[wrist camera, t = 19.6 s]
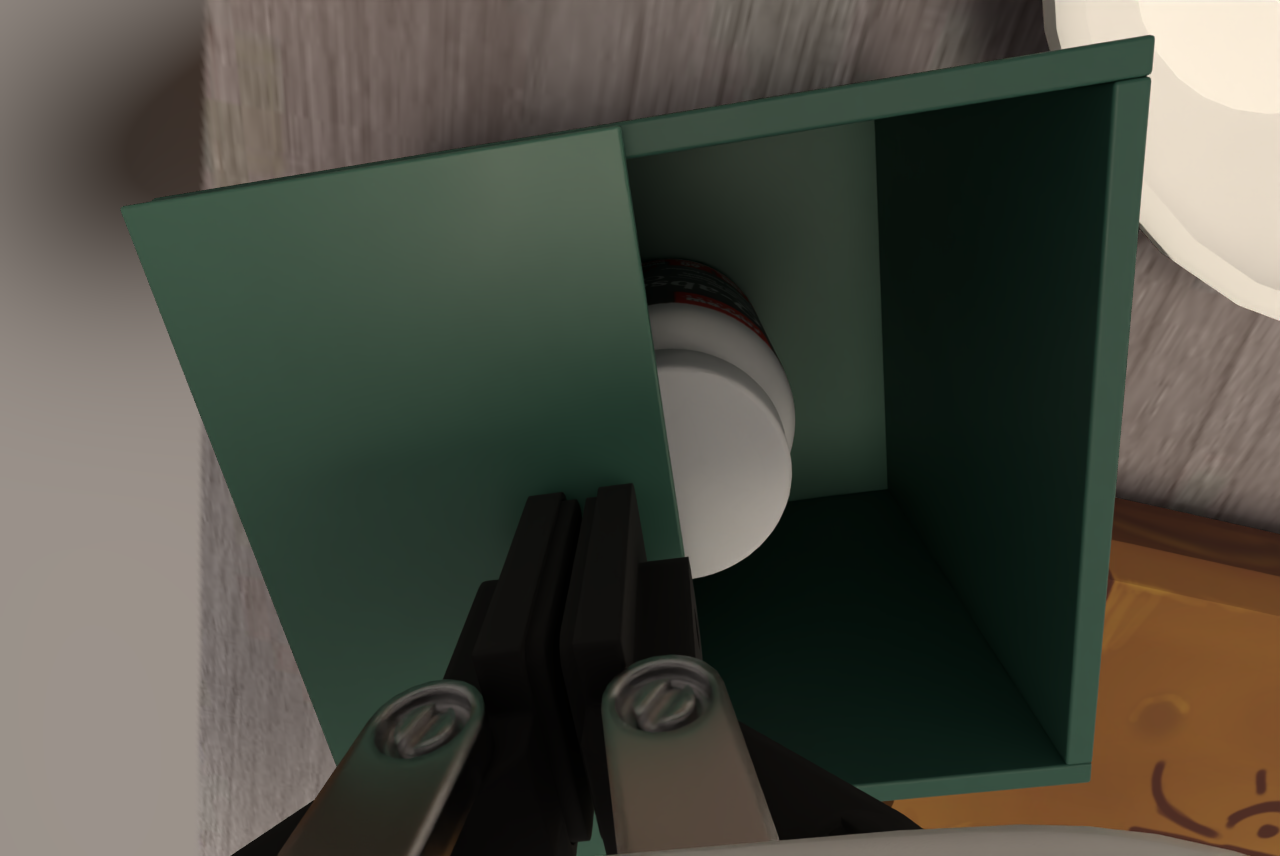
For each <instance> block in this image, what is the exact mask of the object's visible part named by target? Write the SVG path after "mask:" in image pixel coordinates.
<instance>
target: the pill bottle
mask: <svg viewBox="0 0 1280 856" xmlns="http://www.w3.org/2000/svg"><path fill="white" fill-rule="evenodd" d="M642 271H643V277H644V284H645V291H646V297H647V304H648V311H649V318H650V324H651V331H652V338H653V344H654V351H655V358H656V365H657V371H658V378H659V385H660V391H661V398H662V405H663V411H664V418H665V425H666V432H667V438H668V445H669V452H670V458H671V465H672V472H673V479H674V485H675V492H676V499H677V505H678V512H679V519H680V525H681V532H682V539H683V546H684V552H685V557H689V561H690V567H691V573H692V579H694V578H699V577H704V576H707V575H711V574H714V573H717V572H719V571H722V570H725V569H727V568H729V567H731V566H733V565H735V564H737V563H738V562H740V561H741V560H743V559H744V558H746V557H747V556H749V555H750V554H751V553H752V552H753V551H755V550H756V549H757V548H758V547H759V546H760V545H761V544H762V543H763V542H764V541H765V540H766V539H767V538H768V536H769V535H770V534H771V533H772V531H773V530H774V528H775V527H776V525H777V524H778V522H779V520H780V518H781V516H782V514H783V511H784V509H785V507H786V504H787V501H788V497H789V494H790V488H791V480H792V462H791V456H790V452H791V448H792V444H793V439H794V433H795V408H794V401H793V396H792V392H791V388H790V385H789V382H788V379H787V376H786V373H785V371H784V368H783V366H782V364H781V362H780V360H779V358H778V356H777V354H776V352H775V350H774V348H773V346H772V344H771V342H770V340H769V338H768V336H767V334H766V332H765V330H764V328H763V326H762V324H761V322H760V320H759V318H758V316H757V314H756V312H755V310H754V308H753V306H752V304H751V303H750V301H749V300H748V298H747V297H746V296H745V295H744V293H743V292H742V291H741V290H740V289H739V288H738V287H737V286H736V285H735V284H734V283H733V282H732V281H731V280H730V279H728V278H727V277H726V276H725V275H723V274H721V273H720V272H718V271H716V270H715V269H713V268H710V267H708V266H706V265H703V264H700V263H697V262H693V261H689V260H682V259H659V260H653V261H648V262H645V263H642Z"/></svg>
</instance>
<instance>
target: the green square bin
mask: <svg viewBox="0 0 1280 856" xmlns="http://www.w3.org/2000/svg"><path fill="white" fill-rule="evenodd" d="M1154 45H1155V37H1154V36H1153V35H1145V36H1139V37H1133V38H1127V39H1120V40H1114V41H1108V42H1102V43H1096V44H1090V45H1084V46H1078V47H1072V48H1066V49H1060V50H1054V51H1047V52H1041V53H1035V54H1029V55H1023V56H1017V57H1011V58H1005V59H999V60H993V61H987V62H981V63H974V64H968V65H962V66H956V67H950V68H944V69H938V70H932V71H926V72H920V73H914V74H908V75H902V76H895V77H889V78H883V79H877V80H871V81H865V82H859V83H853V84H847V85H841V86H835V87H829V88H822V89H816V90H810V91H804V92H798V93H792V94H786V95H780V96H774V97H768V98H762V99H756V100H749V101H743V102H737V103H731V104H725V105H719V106H713V107H707V108H701V109H695V110H689V111H683V112H677V113H670V114H664V115H658V116H652V117H646V118H640V119H634V120H628V121H622V122H616V123H610V124H604V125H597V126H591V127H585V128H579V129H573V130H567V131H561V132H555V133H549V134H543V135H537V136H531V137H525V138H518V139H512V140H506V141H500V142H494V143H488V144H482V145H476V146H470V147H464V148H458V149H452V150H445V151H439V152H433V153H427V154H421V155H415V156H409V157H403V158H397V159H391V160H385V161H379V162H372V163H366V164H360V165H354V166H348V167H342V168H336V169H330V170H324V171H318V172H312V173H306V174H300V175H293V176H287V177H281V178H275V179H269V180H263V181H257V182H251V183H245V184H239V185H233V186H227V187H220V188H214V189H208V190H202V191H196V192H190V193H184V194H179V195H172V196H166V197H160V198H155V199H154V200H152V201H158V200H164V199H170V198H176V197H182V196H189V195H195V194H201V193H207V192H213V191H219V190H225V189H231V188H237V187H243V186H250V185H256V184H262V183H268V182H274V181H280V180H286V179H292V178H298V177H305V176H311V175H317V174H323V173H329V172H335V171H341V170H347V169H353V168H359V167H366V166H372V165H378V164H384V163H390V162H396V161H402V160H408V159H414V158H420V157H427V156H433V155H439V154H445V153H451V152H457V151H463V150H469V149H475V148H481V147H488V146H494V145H500V144H506V143H512V142H518V141H524V140H530V139H536V138H543V137H549V136H555V135H561V134H567V133H573V132H579V131H585V130H591V129H597V128H604V127H610V126H616V125H617V126H620V128H621V130H622V137H623V143H624V150H625V157H626V163H627V170H628V177H629V183H630V190H631V197H632V204H633V210H634V217H635V224H636V230H637V237H638V244H639V251H640V257H641V264H642V263H645V262H648V261H653V260H659V259H682V260H689V261H693V262H697V263H700V264H703V265H706V266H708V267H710V268H713V269H715V270H716V271H718V272H720V273H721V274H723V275H725V276H726V277H727V278H728V279H730V280H731V281H732V282H733V283H734V284H735V285H736V286H737V287H738V288H739V289H740V290H741V291H742V292H743V293H744V295H745V296H746V297H747V298H748V300H749V301H750V303H751V304H752V306H753V308H754V310H755V312H756V314H757V316H758V318H759V320H760V322H761V324H762V326H763V328H764V330H765V332H766V334H767V336H768V338H769V340H770V342H771V344H772V346H773V348H774V350H775V352H776V354H777V356H778V358H779V360H780V362H781V364H782V366H783V368H784V371H785V373H786V376H787V379H788V382H789V385H790V388H791V392H792V396H793V401H794V408H795V433H794V439H793V444H792V448H791V452H790V456H791V462H792V480H791V488H790V494H789V497H788V501H787V504H786V507H785V509H784V511H783V514H782V516H781V518H780V520H779V522H778V524H777V525H776V527H775V528H774V530H773V531H772V533H771V534H770V535H769V536H768V538H767V539H766V540H765V541H764V542H763V543H762V544H761V545H760V546H759V547H758V548H757V549H756V550H755V551H753V552H752V553H751V554H750V555H749V556H747V557H746V558H744V559H743V560H741V561H740V562H738V563H737V564H735V565H733V566H731V567H729V568H727V569H725V570H722V571H719V572H717V573H714V574H711V575H707V576H704V577H699V578H694V579H692V580H693V587H694V593H695V600H696V607H697V615H698V622H699V631H700V639H701V648H702V659H703V661H704V662H706V663H707V664H709V665H710V666H711V667H713V668H714V669H715V670H717V672H718V673H719V675H720V676H721V678H722V680H723V681H724V683H725V686H726V689H727V692H728V695H729V697H730V700H731V703H732V706H733V709H734V712H735V714H736V717H737V720H738V721H740V722H742V723H744V724H745V725H747V726H749V727H751V728H753V729H754V730H756V731H758V732H760V733H761V734H763V735H765V736H767V737H768V738H770V739H772V740H774V741H775V742H777V743H779V744H781V745H782V746H784V747H786V748H788V749H789V750H791V751H793V752H795V753H797V754H798V755H800V756H802V757H804V758H805V759H807V760H809V761H811V762H812V763H814V764H816V765H818V766H819V767H821V768H823V769H825V770H826V771H828V772H830V773H832V774H834V775H835V776H837V777H839V778H841V779H842V780H844V781H846V782H848V783H849V784H851V785H853V786H855V787H856V788H858V789H860V790H862V791H863V792H865V793H867V794H869V795H870V796H872V797H874V798H876V799H878V800H879V801H892V800H903V799H914V798H925V797H935V796H946V795H957V794H968V793H979V792H989V791H1000V790H1011V789H1022V788H1033V787H1044V786H1054V785H1065V784H1076V783H1087V782H1090V779H1091V768H1092V764H1091V762H1092V757H1093V745H1094V734H1095V722H1096V711H1097V699H1098V688H1099V676H1100V665H1101V653H1102V642H1103V630H1104V619H1105V607H1106V596H1107V584H1108V573H1109V562H1110V550H1111V539H1112V527H1113V516H1114V504H1115V493H1116V481H1117V470H1118V458H1119V447H1120V435H1121V424H1122V412H1123V401H1124V389H1125V378H1126V367H1127V355H1128V344H1129V332H1130V321H1131V309H1132V298H1133V286H1134V275H1135V263H1136V252H1137V240H1138V229H1139V217H1140V206H1141V194H1142V183H1143V172H1144V160H1145V149H1146V137H1147V126H1148V114H1149V103H1150V91H1151V78H1150V77H1147V76H1148V75H1149V74H1151V72H1152V68H1153V57H1154Z"/></svg>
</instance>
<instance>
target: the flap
mask: <svg viewBox="0 0 1280 856" xmlns="http://www.w3.org/2000/svg"><path fill="white" fill-rule="evenodd" d="M121 213H122V215H123V218H124V220H125V223H126V226H127V228H128V230H129V233H130V236H131V238H132V241H133V244H134V246H135V249H136V251H137V254H138V256H139V259H140V261H141V264H142V267H143V269H144V272H145V274H146V277H147V279H148V282H149V285H150V287H151V290H152V292H153V295H154V297H155V300H156V303H157V305H158V308H159V311H160V313H161V315H162V318H163V321H164V323H165V326H166V328H167V331H168V333H169V336H170V339H171V341H172V344H173V346H174V349H175V352H176V354H177V357H178V359H179V362H180V365H181V367H182V370H183V372H184V375H185V377H186V380H187V383H188V385H189V388H190V390H191V393H192V395H193V398H194V401H195V403H196V406H197V408H198V411H199V414H200V416H201V419H202V421H203V424H204V426H205V429H206V432H207V434H208V437H209V439H210V442H211V444H212V447H213V450H214V452H215V455H216V457H217V460H218V462H219V465H220V468H221V470H222V473H223V475H224V478H225V480H226V483H227V486H228V488H229V491H230V493H231V496H232V498H233V501H234V504H235V506H236V509H237V511H238V514H239V517H240V519H241V522H242V524H243V527H244V529H245V532H246V535H247V537H248V540H249V542H250V545H251V547H252V550H253V553H254V555H255V558H256V560H257V563H258V565H259V568H260V571H261V573H262V576H263V578H264V581H265V583H266V586H267V589H268V591H269V594H270V596H271V599H272V601H273V604H274V607H275V609H276V612H277V614H278V617H279V619H280V622H281V625H282V627H283V630H284V632H285V635H286V638H287V640H288V643H289V645H290V648H291V650H292V653H293V656H294V658H295V661H296V663H297V666H298V668H299V671H300V674H301V676H302V679H303V681H304V684H305V686H306V689H307V692H308V694H309V697H310V699H311V702H312V704H313V707H314V710H315V712H316V715H317V717H318V720H319V722H320V725H321V728H322V730H323V733H324V735H325V738H326V740H327V743H328V746H329V748H330V751H331V753H332V756H333V759H334V761H335V764H336V766H338V764H339V763H340V761H341V760H342V759H343V757H344V756H345V754H346V753H347V751H348V750H349V748H350V747H351V745H352V744H353V742H354V741H355V739H356V738H357V736H358V735H359V733H360V732H361V730H362V729H363V728H364V726H365V725H366V723H367V722H368V720H369V719H370V718H371V717H372V716H373V715H374V713H375V712H376V711H377V710H378V709H379V708H380V707H381V706H382V705H383V704H385V703H386V702H387V701H389V700H390V699H391V698H393V697H394V696H395V695H397V694H399V693H401V692H403V691H405V690H407V689H409V688H411V687H413V686H416V685H420V684H423V683H426V682H429V681H435V680H443V677H444V675H445V672H446V670H447V667H448V665H449V662H450V659H451V657H452V654H453V652H454V649H455V647H456V644H457V642H458V639H459V637H460V634H461V632H462V629H463V626H464V624H465V621H466V619H467V616H468V614H469V611H470V609H471V606H472V604H473V601H474V598H475V596H476V593H477V591H478V588H479V586H480V585H481V583H482V582H484V581H489V580H497V579H499V577H500V574H501V571H502V568H503V566H504V563H505V560H506V557H507V554H508V552H509V549H510V546H511V543H512V540H513V537H514V535H515V532H516V529H517V526H518V523H519V521H520V518H521V515H522V512H523V509H524V507H525V504H526V501H527V498H528V497H529V496H534V495H542V494H550V493H558V492H563V493H564V494H565V496H566V499H567V500H573V499H577V500H578V502H579V505H580V509H581V514H582V517H583V512H584V507H585V502H586V498H589V497H597V492H598V488H599V487H605V486H612V485H620V484H628V483H633V485H634V489H635V493H636V499H637V505H638V510H639V516H640V522H641V528H642V534H643V540H644V546H645V552H646V557H647V561H655V560H664V559H672V558H680V557H685V552H684V546H683V539H682V532H681V525H680V519H679V512H678V505H677V499H676V492H675V485H674V479H673V472H672V465H671V458H670V452H669V445H668V438H667V432H666V425H665V418H664V411H663V405H662V398H661V391H660V385H659V378H658V371H657V365H656V358H655V351H654V344H653V338H652V331H651V324H650V318H649V311H648V304H647V297H646V291H645V284H644V277H643V271H642V264H641V257H640V251H639V244H638V237H637V230H636V224H635V217H634V210H633V204H632V197H631V190H630V183H629V177H628V170H627V163H626V157H625V150H624V143H623V137H622V130H621V128H620V126H617V125H616V126H610V127H604V128H597V129H591V130H585V131H579V132H573V133H567V134H561V135H555V136H549V137H543V138H536V139H530V140H524V141H518V142H512V143H506V144H500V145H494V146H488V147H481V148H475V149H469V150H463V151H457V152H451V153H445V154H439V155H433V156H427V157H420V158H414V159H408V160H402V161H396V162H390V163H384V164H378V165H372V166H366V167H359V168H353V169H347V170H341V171H335V172H329V173H323V174H317V175H311V176H305V177H298V178H292V179H286V180H280V181H274V182H268V183H262V184H256V185H250V186H243V187H237V188H231V189H225V190H219V191H213V192H207V193H201V194H195V195H189V196H182V197H176V198H170V199H164V200H158V201H152V202H146V203H140V204H134V205H128V206H123V207H122V208H121ZM604 855H606V851H605V847H604V843H603V840H602V838H601V836H600V833H599V828H598V824H597V820H596V815H595V811H594V818H593V829H592V837H591V840H590V841H583V842H578V846H577V855H576V856H604Z"/></svg>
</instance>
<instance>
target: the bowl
mask: <svg viewBox="0 0 1280 856" xmlns="http://www.w3.org/2000/svg"><path fill="white" fill-rule="evenodd" d="M1042 3H1043V19H1044V31H1045V35H1046V39H1047V42H1048V46H1049V50H1050V51H1054V50H1060V49H1066V48H1072V47H1078V46H1084V45H1090V44H1096V43H1102V42H1108V41H1114V40H1120V39H1127V38H1133V37H1139V36H1145V35H1153V36H1154V37H1155V45H1154V57H1153V68H1152V72H1151V74H1149V75H1148V76H1147V77H1150V78H1151V91H1150V103H1149V114H1148V126H1147V137H1146V149H1145V160H1144V172H1143V183H1142V194H1141V206H1140V217H1139V228H1140V229H1141V230H1142V232H1143V233H1144V234H1145V235H1146V236H1147V237H1148V238H1149V240H1150V241H1151V242H1152V243H1153V244H1154V245H1155V246H1156V248H1157V249H1158V250H1159V251H1160V252H1161V253H1163V254H1164V255H1166V256H1167V257H1168V258H1170V259H1171V260H1173V261H1174V262H1176V263H1177V264H1178V265H1180V266H1181V267H1183V268H1184V269H1186V270H1187V271H1189V272H1190V273H1192V274H1193V275H1195V276H1196V277H1198V278H1199V279H1200V280H1202V281H1203V282H1205V283H1206V284H1208V285H1209V286H1211V287H1212V288H1214V289H1215V290H1217V291H1218V292H1220V293H1221V294H1222V295H1224V296H1225V297H1227V298H1228V299H1230V300H1231V301H1233V302H1234V303H1236V304H1237V305H1239V306H1241V307H1244V308H1247V309H1249V310H1252V311H1255V312H1257V313H1260V314H1263V315H1266V316H1268V317H1271V318H1274V319H1276V320H1279V321H1280V0H1042Z"/></svg>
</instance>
